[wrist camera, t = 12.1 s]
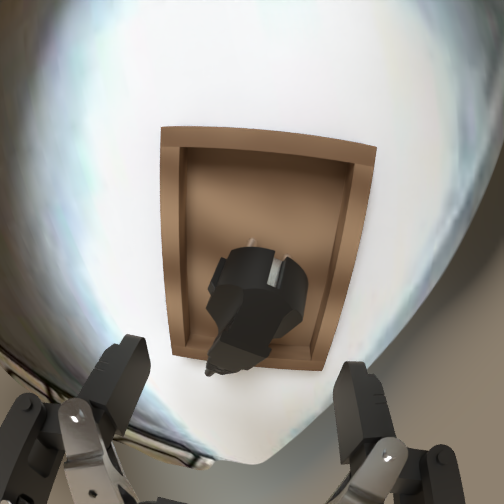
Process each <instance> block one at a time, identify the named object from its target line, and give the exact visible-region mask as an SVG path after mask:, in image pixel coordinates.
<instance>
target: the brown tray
mask: <svg viewBox="0 0 504 504" xmlns="http://www.w3.org/2000/svg"><path fill="white" fill-rule="evenodd" d="M376 150H377V147H375V146H370V145H366V144H361V143H356V142H351V141H345V140H339V139H333V138H327V137H321V136H314V135H306V134H299V133H290V132H281V131H271V130H260V129H247V128H230V127H203V126H169V127H161V143H160V213H161V239H162V257H163V271H164V284H165V295H166V305H167V315H168V324H169V332H170V340H171V347H172V355H176V356H181V357H187V358H193V359H200V360H206V361H207V360H208V355H207V353H208V350H209V349H210V348H211V346H212V345H213V342H214V340H215V338H216V337H217V335H218V327H217V325H216V323H215V321H214V320H213V318H212V317H211V315H210V314H209V313H208V311H207V310H206V306H207V304H208V301H209V298H210V296H211V295H210V293H209V291H208V286H209V284H210V281H211V279H212V277H213V274H214V272H215V269H216V267H217V265H218V262H219V260H220V258H221V257H223V258H225V259H227V258H228V256H229V254H230V252H231V250H233V249H236V248H240V247H245V245H246V243H247V240H248V239H250V238H255V239H257V241H258V247H262V248H267V249H271V250H274V251H275V255H274V258H277V259H279V260H281V258H282V256H283V255H284V254H287V253H288V254H290V255H292V257H293V260H294V261H295V262H296V263H298V264H299V265H300V266H301V268H302V269H303V270H304V272H305V273H306V275H307V278H308V283H309V285H308V291H307V298H306V304H305V310H304V316H303V321H302V322H301V323H300V324H298V325H297V326H296V327H295V328H293V329H292V330H291V331H289V332H288V333H287V334H286V335H284V336H283V337H282V338H277V339H272V341H271V342H270V344H269V346H268V347H269V348H271V349H272V350H271V353H270V354H269V356H268V357H267V358H266V359H264V360H263V361H261V362H260V363H258V364H257V365H255V366H254V367H265V368H277V369H291V370H309V371H322V370H323V367H324V364H325V361H326V358H327V355H328V352H329V349H330V346H331V343H332V340H333V337H334V334H335V331H336V328H337V325H338V321H339V318H340V315H341V311H342V308H343V305H344V301H345V298H346V294H347V290H348V287H349V283H350V279H351V275H352V272H353V268H354V264H355V260H356V256H357V251H358V247H359V243H360V238H361V234H362V229H363V224H364V220H365V215H366V210H367V205H368V199H369V194H370V188H371V182H372V176H373V170H374V164H375V157H376Z"/></svg>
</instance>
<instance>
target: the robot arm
mask: <svg viewBox="0 0 504 504" xmlns="http://www.w3.org/2000/svg"><path fill="white" fill-rule="evenodd" d="M150 368H151V363H150V358H149V354H148V349H147V345H146V340H145V338H143V337H139V336H134V335H130V334H126V335H125V336H124V338H123V339H122V341H121V343H120V344H119V345H118V344H113V345H111V346H110V347H109V348H108V349H106V350H105V351H104V353H103V354H102V356H101V358H100V359H99V362H97V364H96V366H95V369H93V371H92V372H91V374H90V376H89V377H88V379H87V381H86V382H85V384H84V386H83V388H82V389H81V391H80V393H79V394H78V396H77V397H76V398H71V399H68V400H66V401H64V402H63V403H62V404H51V403H42V402H41V400H40V399H39V398H38V396H36V395H35V394H33V393H24V394H22V395H20V396H19V397H18V398H17V399H16V400H15V402H14V404H13V405H12V407H11V409H10V410H9V412H8V414H7V416H6V418H5V420H4V421H3V423H2V425H1V427H0V504H47V501H48V498H49V495H50V492H51V489H52V486H53V483H54V480H55V477H56V475H57V472H58V469H59V466H60V464H61V461H62V459H63V456H64V454H65V452H66V456H67V461H66V462H64V470H65V474H66V478H67V481H68V484H69V488H70V491H71V494H72V497H73V500H74V503H75V504H187V503H182V502H177V501H173V500H169V499H165V498H161V497H158V498H157V501H146V502H139V500H138V498H137V495H136V494H135V492H134V490H133V488H132V486H131V485H130V483H129V482H128V480H127V478H126V476H125V473H124V471H123V469H122V466H121V463H120V461H119V458H118V456H117V453H116V450H115V448H114V445H113V442H112V439H113V437H114V434H117V435H120V436H124V434H125V431H126V429H127V426H128V424H129V421H130V419H131V417H132V414H133V412H134V409H135V407H136V405H137V402H138V400H139V397H140V395H141V393H142V390H143V388H144V386H145V383H146V381H147V379H148V376H149V374H150ZM333 401H334V409H335V417H336V425H337V433H338V441H339V450H340V460H341V464H350V471H349V473H348V474H347V475H346V477H345V478H344V479H343V481H342V482H341V484H340V485H339V486H338V487H337V489H336V490H335V491H334V493H333V494H332V495H331V496H330V498H329V499H328V500H327V501H326V503H325V504H384V501H385V499H386V497H387V496H388V494H389V493H393V497H394V504H465V498H464V492H463V487H462V482H461V477H460V473H459V469H458V464H457V460H456V456H455V453H454V451H453V450H452V449H451V448H450V447H449V446H446V445H442V444H440V445H436V446H434V447H432V448H431V449H430V450H429V451H426V450H418V449H412V448H408V447H406V445H405V444H404V443H403V442H402V441H401V440H400V439H398V438H397V437H396V435H395V431H394V427H393V423H392V420H391V416H390V412H389V408H388V405H387V401H386V397H385V396H384V391H383V387H382V384H381V382H380V381H379V380H378V378H377V377H376V376H375V375H374V374H368V373H367V369H366V366H365V363H364V362H356V361H346V362H344V364H343V366H342V369H341V371H340V373H339V376H338V378H337V380H336V382H335V385H334V389H333Z"/></svg>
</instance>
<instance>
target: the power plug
mask: <svg viewBox="0 0 504 504" xmlns="http://www.w3.org/2000/svg"><path fill="white" fill-rule="evenodd" d="M274 255H275V251H274V250H271V249H267V248H262V247H258V241H257V239H255V238H250V239H248V240H247V243H246V245H245V247H240V248H236V249H233V250H231V252H230V254H229V256H228V258H227V259H225V258H223V257H221V258H220V260H219V262H218V265H217V267H216V269H215V272H214V274H213V277H212V279H211V281H210V284H209V286H208V291H209V293H210V295H211V296H210V298H209V301H208V304H207V306H206V310H207V311H208V313H209V314H210V315H211V317H212V318H213V320H214V321H215V323H216V325H217V327H218V335H217V337H216V338H215V340H214V342H213V345H212V346H211V348H210V349H209V350H208V353H207V355H208V360H207V364H206V370H205V375H206V376H209V377H210V376H212V375H213V374H214V373H218V374H221V375H225V374H230V373H236V372H239V371H240V370H243V369H244V370H249V369H251V368H252V367H254V366H255V365H257V364H258V363H260V362H261V361H263V360H264V359H266V358H267V357H268V356H269V354H270V353H271V350H272V349H271V348H269V347H268V346H269V344H270V342H271V341H272V339H277V338H282V337H283V336H284V335H286V334H287V333H288V332H289V331H291V330H292V329H293V328H295V327H296V326H297V325H298V324H300V323H301V322H302V321H303V316H304V310H305V304H306V298H307V291H308V285H309V283H308V278H307V275H306V273H305V272H304V270H303V269H302V268H301V266H300V265H299V264H298V263H296V262H295V261H294V260H293V257H292V255H290V254H288V253H287V254H284V255H283V256H282V258H281V260H279V259H277V258H274Z"/></svg>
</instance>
